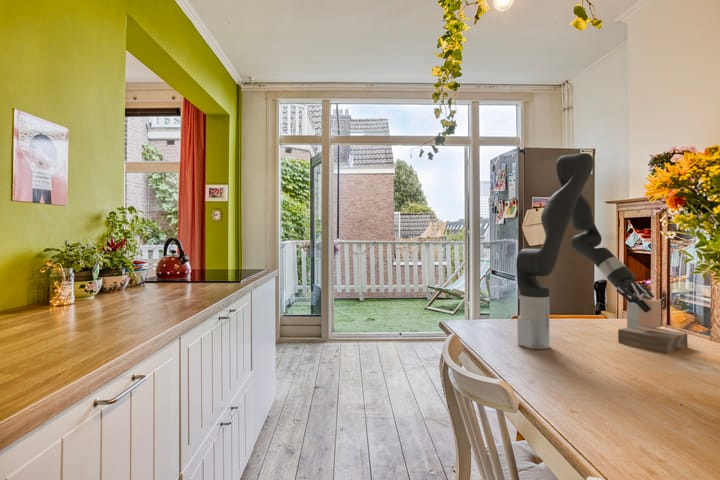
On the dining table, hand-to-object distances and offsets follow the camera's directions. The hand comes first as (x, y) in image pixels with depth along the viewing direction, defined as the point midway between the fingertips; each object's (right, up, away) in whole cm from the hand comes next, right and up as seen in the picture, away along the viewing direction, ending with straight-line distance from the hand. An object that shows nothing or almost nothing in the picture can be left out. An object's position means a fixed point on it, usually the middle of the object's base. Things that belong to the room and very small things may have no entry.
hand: (652, 310), depth 124 cm
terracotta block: (0, -6, +1) cm, 6 cm away
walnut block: (0, -12, +1) cm, 12 cm away
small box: (+8, -12, +16) cm, 21 cm away
